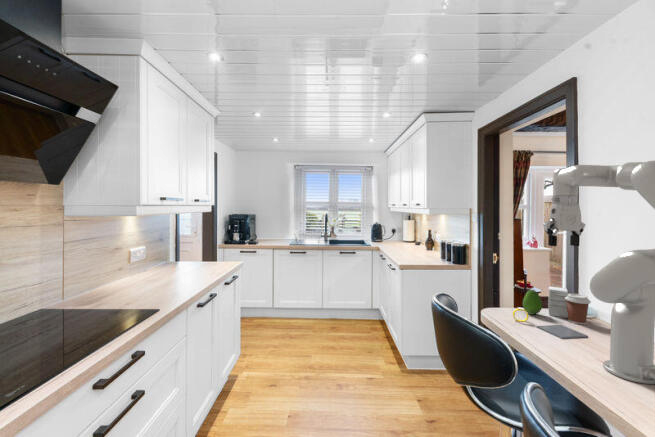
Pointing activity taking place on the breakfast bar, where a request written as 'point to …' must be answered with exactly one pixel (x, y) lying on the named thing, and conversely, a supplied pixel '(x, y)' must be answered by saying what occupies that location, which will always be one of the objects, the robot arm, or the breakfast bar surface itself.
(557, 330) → the slate coaster
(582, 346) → the breakfast bar surface
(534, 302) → the avocado
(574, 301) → the coffee cup
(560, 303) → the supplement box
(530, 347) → the breakfast bar surface
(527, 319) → the watch
